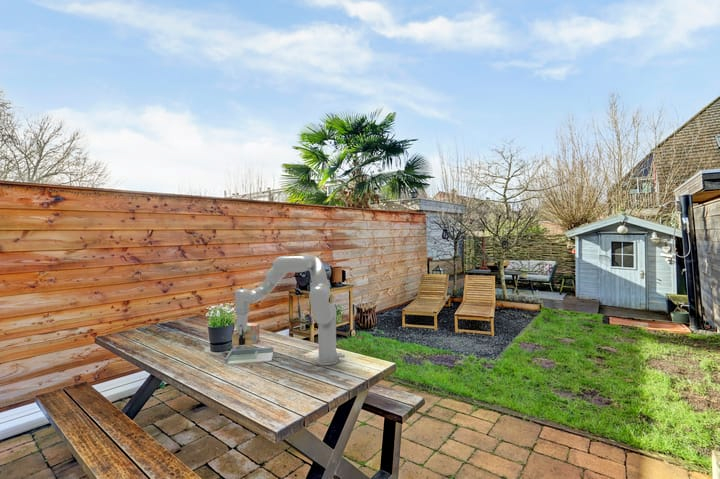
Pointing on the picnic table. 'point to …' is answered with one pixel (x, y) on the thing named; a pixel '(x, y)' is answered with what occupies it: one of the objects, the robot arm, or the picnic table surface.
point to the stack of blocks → (253, 331)
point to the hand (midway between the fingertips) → (242, 343)
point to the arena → (249, 356)
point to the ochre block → (247, 336)
